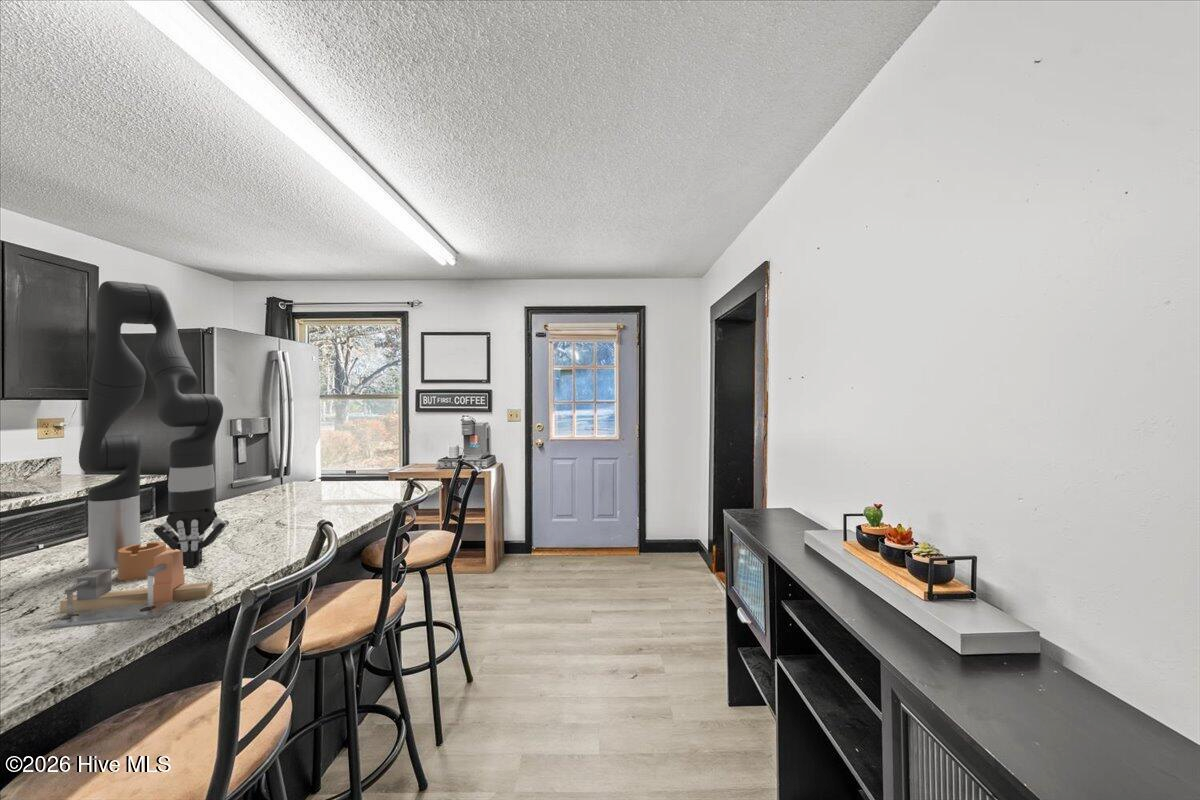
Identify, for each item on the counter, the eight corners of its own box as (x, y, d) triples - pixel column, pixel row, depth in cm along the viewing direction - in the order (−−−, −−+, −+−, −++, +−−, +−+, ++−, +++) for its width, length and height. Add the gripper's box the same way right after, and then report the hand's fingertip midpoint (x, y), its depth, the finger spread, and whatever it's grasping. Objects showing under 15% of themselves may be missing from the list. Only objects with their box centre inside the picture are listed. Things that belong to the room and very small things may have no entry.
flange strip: (73, 616, 93) (73, 610, 93) (174, 605, 97) (174, 600, 97) (48, 630, 87) (48, 624, 87) (157, 618, 92) (157, 613, 92)
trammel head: (167, 595, 102) (167, 549, 102) (184, 593, 103) (184, 548, 103) (139, 614, 93) (139, 564, 93) (158, 612, 94) (158, 563, 94)
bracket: (160, 577, 113) (160, 548, 113) (112, 584, 108) (112, 554, 108) (179, 555, 128) (179, 530, 128) (137, 561, 124) (137, 535, 124)
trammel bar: (74, 605, 97) (74, 571, 97) (214, 591, 104) (214, 560, 104) (37, 626, 88) (37, 589, 88) (192, 609, 95) (192, 575, 95)
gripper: (236, 482, 107) (236, 558, 107) (164, 485, 103) (164, 564, 103) (220, 488, 99) (221, 570, 100) (142, 492, 95) (143, 577, 96)
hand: (192, 567), depth 101 cm, fingers closed
